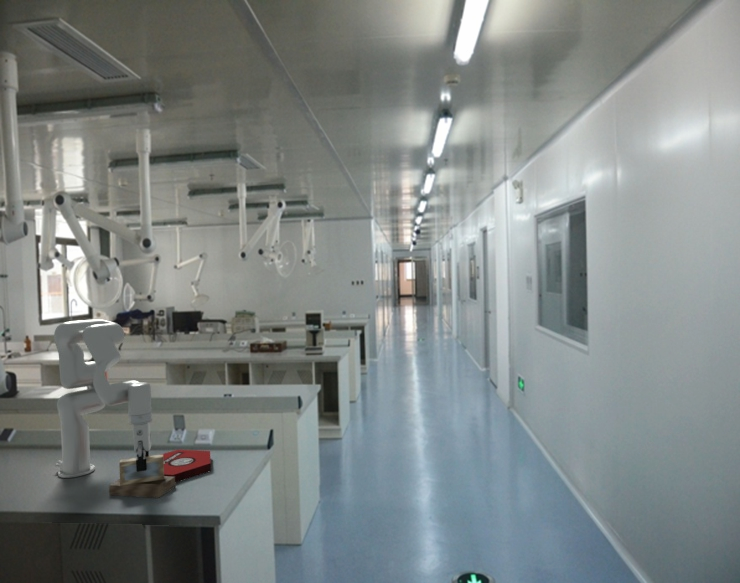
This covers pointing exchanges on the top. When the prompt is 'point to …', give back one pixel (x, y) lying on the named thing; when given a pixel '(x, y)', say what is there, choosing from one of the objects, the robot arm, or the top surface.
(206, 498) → the top surface
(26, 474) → the top surface
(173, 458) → the plaque
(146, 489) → the tan shallow box
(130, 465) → the tan rectangular slab
